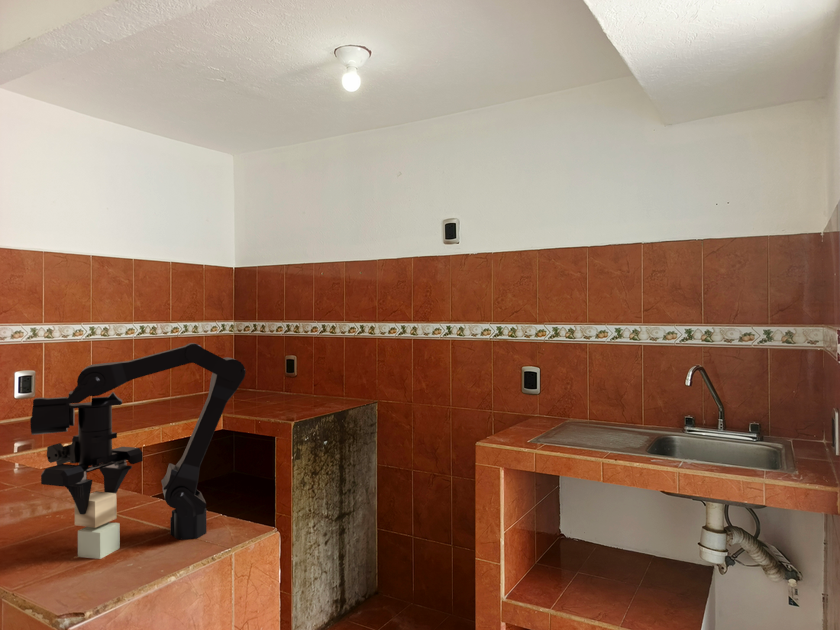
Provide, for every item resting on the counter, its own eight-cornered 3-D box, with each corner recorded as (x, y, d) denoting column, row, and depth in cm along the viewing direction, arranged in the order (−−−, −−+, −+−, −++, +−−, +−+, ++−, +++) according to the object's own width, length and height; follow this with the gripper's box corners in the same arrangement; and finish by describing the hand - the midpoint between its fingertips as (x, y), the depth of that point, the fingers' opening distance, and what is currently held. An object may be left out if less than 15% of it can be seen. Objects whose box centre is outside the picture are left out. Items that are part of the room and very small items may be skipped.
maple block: (116, 518, 111) (116, 493, 111) (95, 527, 106) (95, 501, 106) (96, 516, 112) (96, 491, 112) (74, 525, 108) (74, 499, 108)
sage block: (119, 548, 111) (119, 523, 111) (100, 559, 106) (100, 532, 106) (98, 546, 112) (97, 521, 112) (77, 556, 107) (77, 530, 107)
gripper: (102, 418, 121) (102, 490, 121) (17, 437, 103) (18, 521, 103) (144, 421, 117) (144, 495, 117) (64, 440, 100) (65, 528, 100)
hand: (95, 508), depth 109 cm, fingers open, 6 cm apart
